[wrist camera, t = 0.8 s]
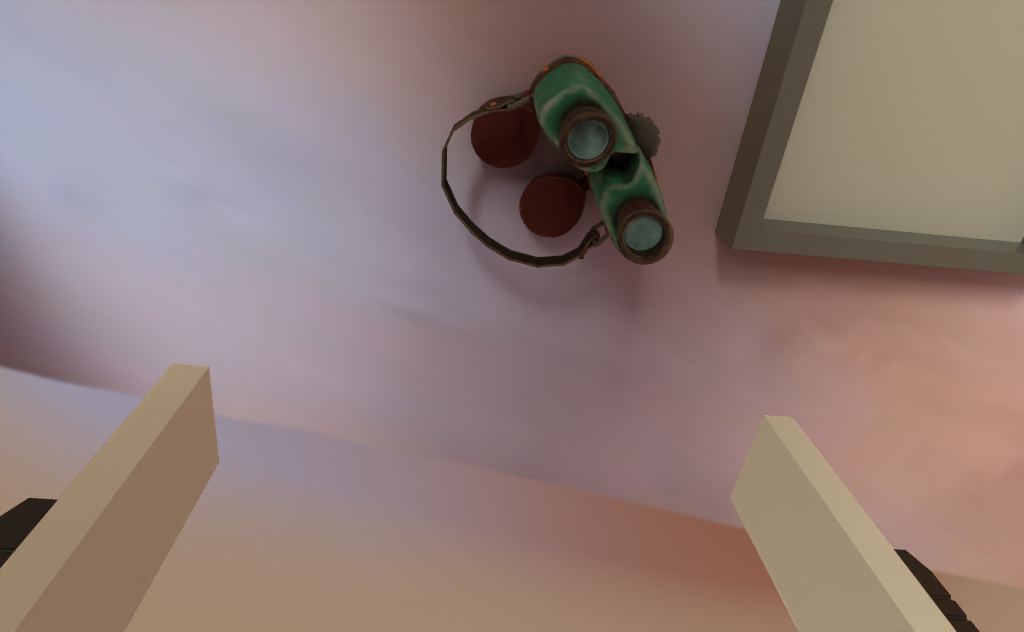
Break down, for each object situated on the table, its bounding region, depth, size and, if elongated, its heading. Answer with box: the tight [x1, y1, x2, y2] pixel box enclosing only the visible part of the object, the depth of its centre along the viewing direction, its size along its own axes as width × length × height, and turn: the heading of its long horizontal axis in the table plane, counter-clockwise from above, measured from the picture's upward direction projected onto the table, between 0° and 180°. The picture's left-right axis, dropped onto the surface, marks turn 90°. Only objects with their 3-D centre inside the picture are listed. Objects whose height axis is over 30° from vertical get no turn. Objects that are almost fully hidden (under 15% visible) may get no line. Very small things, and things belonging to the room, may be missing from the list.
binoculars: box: [441, 56, 673, 268], centre depth 27 cm, size 9×11×10 cm
